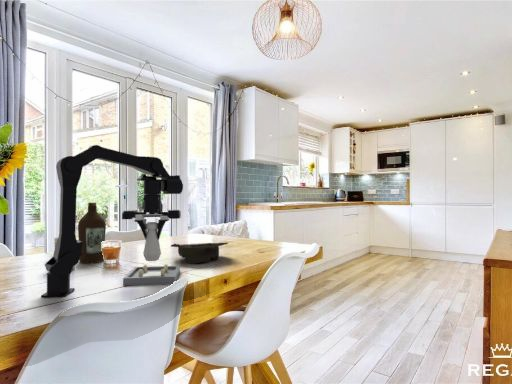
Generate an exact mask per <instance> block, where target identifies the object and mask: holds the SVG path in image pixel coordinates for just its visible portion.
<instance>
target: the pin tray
mask: <svg viewBox="0 0 512 384" xmlns="http://www.w3.org/2000/svg"><path fill="white" fill-rule="evenodd" d="M180 272H181V266H180V265H168V263H166V264H165V263H164V265H161V266H160V265H159V266H156V265H155V266H154V265H152V266H148V264H143V266H135V267H134V268H132V269H131V270H130V271H129V272H128V273H127V274H126V275H125V276H124V277H123V278H122V286H132V285H133V286H140V285H141V286H142V285H168V284H169V285H172V283H173V282H174V281H176V282H177V280H178V277H179V275H180Z"/></svg>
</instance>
